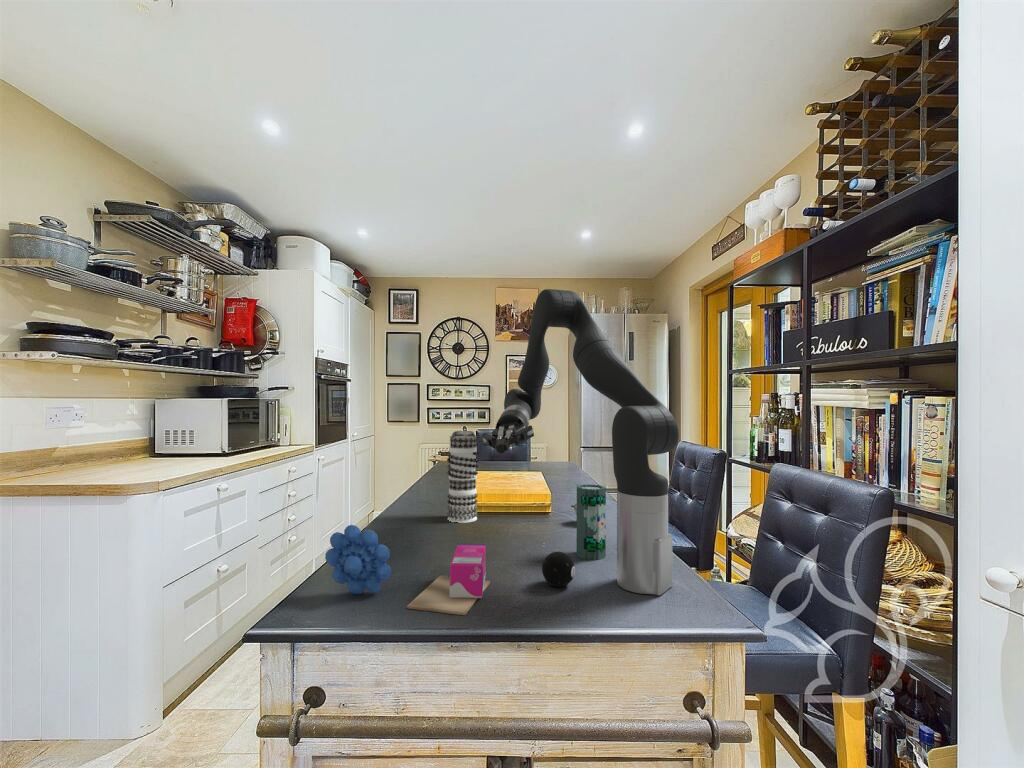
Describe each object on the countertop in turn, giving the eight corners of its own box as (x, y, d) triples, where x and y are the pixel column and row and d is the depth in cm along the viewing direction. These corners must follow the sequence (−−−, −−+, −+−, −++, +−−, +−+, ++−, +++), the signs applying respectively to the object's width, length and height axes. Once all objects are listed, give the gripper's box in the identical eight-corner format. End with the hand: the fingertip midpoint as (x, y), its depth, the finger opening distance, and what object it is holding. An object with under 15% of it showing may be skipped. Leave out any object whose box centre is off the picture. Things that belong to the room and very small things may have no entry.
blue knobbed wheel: (314, 604, 80) (315, 531, 80) (330, 588, 87) (331, 521, 87) (383, 605, 80) (385, 532, 80) (394, 589, 87) (395, 521, 87)
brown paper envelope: (440, 577, 92) (440, 575, 92) (490, 582, 90) (490, 580, 90) (406, 608, 79) (407, 605, 79) (464, 615, 76) (464, 612, 76)
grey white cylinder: (466, 513, 144) (467, 429, 144) (484, 519, 137) (485, 431, 137) (439, 518, 138) (441, 431, 139) (458, 525, 131) (459, 432, 132)
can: (592, 561, 102) (592, 490, 103) (571, 554, 107) (571, 486, 107) (610, 555, 106) (610, 487, 106) (589, 549, 111) (589, 483, 111)
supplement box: (486, 574, 93) (482, 599, 82) (456, 573, 93) (447, 598, 82) (487, 544, 93) (482, 565, 82) (456, 543, 93) (447, 564, 82)
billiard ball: (549, 577, 93) (550, 545, 93) (579, 582, 90) (579, 550, 91) (536, 587, 88) (537, 554, 88) (567, 594, 85) (567, 559, 85)
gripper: (485, 413, 122) (468, 438, 106) (535, 404, 119) (526, 428, 103) (492, 440, 124) (476, 469, 107) (542, 432, 121) (534, 460, 104)
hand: (501, 449), depth 105 cm, fingers closed
